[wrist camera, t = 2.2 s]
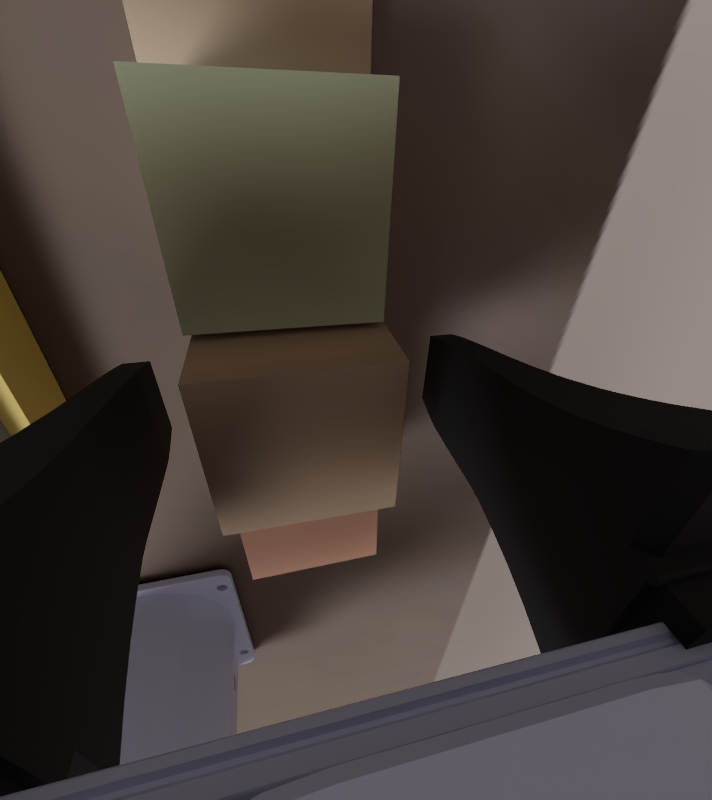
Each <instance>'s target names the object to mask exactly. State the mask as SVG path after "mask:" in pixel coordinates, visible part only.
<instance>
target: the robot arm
mask: <svg viewBox="0 0 712 800" xmlns="http://www.w3.org/2000/svg"><path fill="white" fill-rule="evenodd" d="M422 398H423V401H424V403H425V406H426V408H427V411H428V413H429V416H430V418H431V420H432V422H433V425H434V427H435V428H436V430H437V432H438V433H439V435H440V437H441V438H442V440H443V442H444V443H445V445H446V447H447V448H448V450H449V452H450V453H451V455H452V456H453V458H454V460H455V461H456V463H457V464H458V466H459V468H460V469H461V471H462V473H463V474H464V476H465V477H466V479H467V481H468V482H469V484H470V486H471V487H472V489H473V491H474V493H475V495H476V496H477V498H478V500H479V502H480V504H481V506H482V509H483V511H484V513H485V515H486V517H487V519H488V521H489V523H490V526H491V528H492V530H493V532H494V534H495V537H496V539H497V541H498V544H499V546H500V548H501V550H502V553H503V555H504V557H505V560H506V562H507V564H508V567H509V569H510V572H511V574H512V577H513V579H514V582H515V584H516V587H517V589H518V592H519V595H520V597H521V599H522V602H523V605H524V607H525V610H526V613H527V616H528V618H529V621H530V624H531V626H532V630H533V632H534V635H535V638H536V641H537V643H538V646H539V649H540V652H541V654H539V655H534V656H531V657H527V658H523V659H519V660H516V661H512V662H508V663H504V664H500V665H497V666H493V667H489V668H485V669H481V670H478V671H474V672H470V673H466V674H463V675H459V676H455V677H451V678H448V679H444V680H440V681H436V682H432V683H429V684H425V685H421V686H417V687H413V688H410V689H406V690H402V691H398V692H394V693H391V694H387V695H383V696H379V697H376V698H372V699H368V700H364V701H360V702H357V703H353V704H349V705H345V706H341V707H338V708H334V709H330V710H326V711H323V712H319V713H315V714H311V715H307V716H304V717H300V718H296V719H292V720H288V721H285V722H281V723H277V724H273V725H270V726H266V727H262V728H258V729H254V730H251V731H247V732H243V733H239V734H237V689H238V665H241V664H245V663H249V662H251V661H253V660H254V659H255V651H254V647H253V644H252V641H251V638H250V634H249V631H248V628H247V624H246V621H245V618H244V615H243V611H242V608H241V605H240V601H239V598H238V595H237V591H236V588H235V585H234V582H233V578H232V575H231V573H230V572H229V571H227V570H224V569H220V570H214V571H209V572H203V573H198V574H193V575H187V576H182V577H177V578H171V579H166V580H161V581H155V582H150V583H145V584H140V585H139V579H140V572H141V566H142V559H143V555H144V550H145V546H146V541H147V537H148V534H149V530H150V527H151V523H152V519H153V516H154V512H155V509H156V505H157V501H158V498H159V494H160V491H161V487H162V483H163V480H164V476H165V472H166V468H167V464H168V460H169V452H170V443H171V432H172V426H171V423H170V420H169V417H168V414H167V411H166V408H165V405H164V402H163V399H162V396H161V393H160V390H159V387H158V384H157V381H156V378H155V375H154V372H153V369H152V366H151V363H150V361H149V362H138V363H126V364H121V365H119V366H117V367H116V368H114V369H112V370H111V371H109V372H108V373H106V374H105V375H103V376H102V377H100V378H99V379H97V380H96V381H94V382H93V383H91V384H90V385H89V386H87V387H86V388H84V389H83V390H81V391H80V392H78V393H77V394H76V395H74V396H73V397H71V398H70V399H68V400H67V401H65V402H64V403H63V404H61V405H60V406H58V407H57V408H55V409H54V410H52V411H50V412H49V413H47V414H46V415H44V416H43V417H41V418H39V419H38V420H36V421H35V422H33V423H32V424H30V425H28V426H27V427H25V428H24V429H22V430H21V431H19V432H18V433H16V434H14V435H13V436H11V437H9V438H8V439H6V440H4V441H2V442H1V443H0V800H712V411H711V410H705V409H699V408H693V407H685V406H680V405H674V404H668V403H663V402H657V401H652V400H647V399H643V398H638V397H634V396H629V395H625V394H620V393H616V392H612V391H608V390H604V389H600V388H597V387H593V386H590V385H586V384H583V383H580V382H576V381H573V380H569V379H566V378H563V377H560V376H557V375H554V374H552V373H549V372H546V371H544V370H541V369H538V368H536V367H533V366H530V365H528V364H525V363H523V362H520V361H518V360H515V359H513V358H511V357H508V356H506V355H504V354H501V353H499V352H497V351H494V350H492V349H490V348H487V347H485V346H482V345H480V344H478V343H475V342H473V341H470V340H468V339H465V338H462V337H459V336H456V335H452V334H449V335H438V336H430V343H429V351H428V358H427V366H426V374H425V381H424V389H423V396H422Z"/></svg>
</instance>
